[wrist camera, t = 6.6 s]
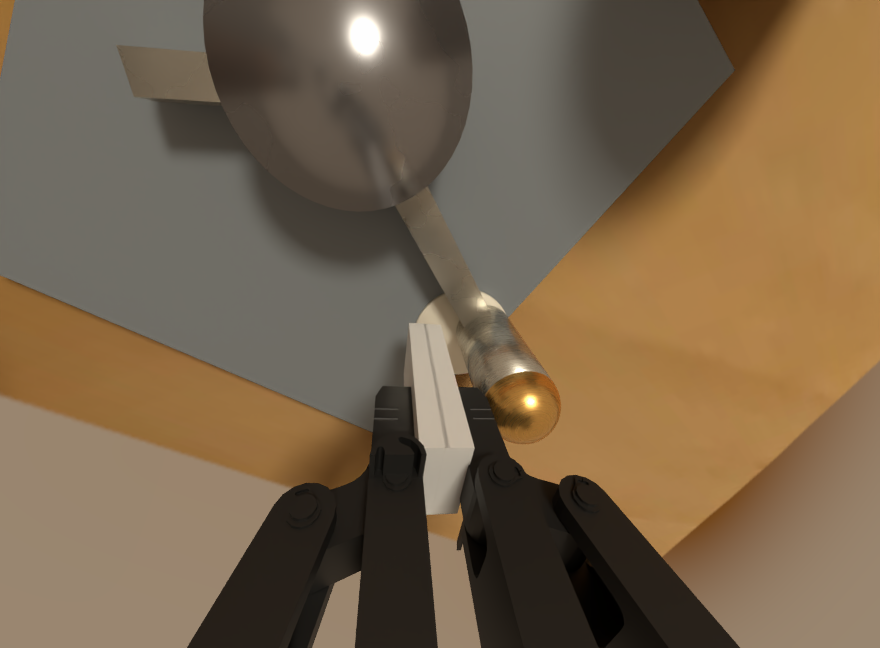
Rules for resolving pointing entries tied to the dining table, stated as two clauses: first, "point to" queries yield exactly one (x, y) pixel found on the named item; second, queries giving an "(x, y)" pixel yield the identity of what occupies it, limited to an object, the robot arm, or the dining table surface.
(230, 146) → the stand plate
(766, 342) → the dining table surface
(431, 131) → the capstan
